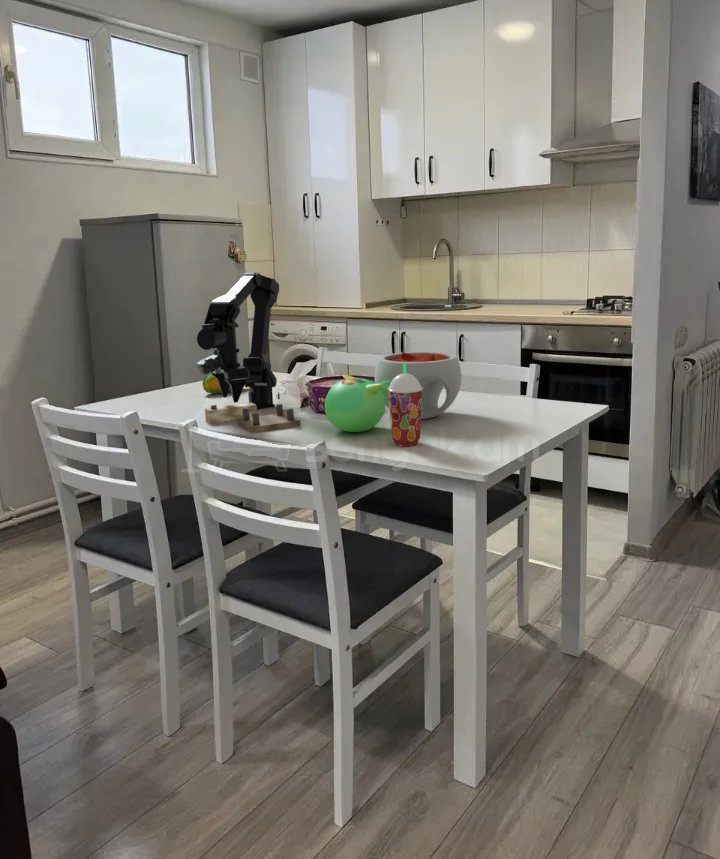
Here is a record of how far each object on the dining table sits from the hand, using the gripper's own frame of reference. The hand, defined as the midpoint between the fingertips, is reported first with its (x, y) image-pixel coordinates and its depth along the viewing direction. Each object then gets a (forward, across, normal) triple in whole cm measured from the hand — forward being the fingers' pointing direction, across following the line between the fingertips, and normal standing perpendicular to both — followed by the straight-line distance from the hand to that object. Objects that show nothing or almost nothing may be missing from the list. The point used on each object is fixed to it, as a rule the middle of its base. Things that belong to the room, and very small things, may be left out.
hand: (230, 399), depth 218 cm
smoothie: (+6, +53, +26) cm, 59 cm away
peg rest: (+6, +14, +6) cm, 16 cm away
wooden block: (+6, 0, 0) cm, 6 cm away
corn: (+6, -44, +14) cm, 46 cm away
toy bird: (+6, +34, +23) cm, 41 cm away
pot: (+6, +29, +45) cm, 54 cm away
